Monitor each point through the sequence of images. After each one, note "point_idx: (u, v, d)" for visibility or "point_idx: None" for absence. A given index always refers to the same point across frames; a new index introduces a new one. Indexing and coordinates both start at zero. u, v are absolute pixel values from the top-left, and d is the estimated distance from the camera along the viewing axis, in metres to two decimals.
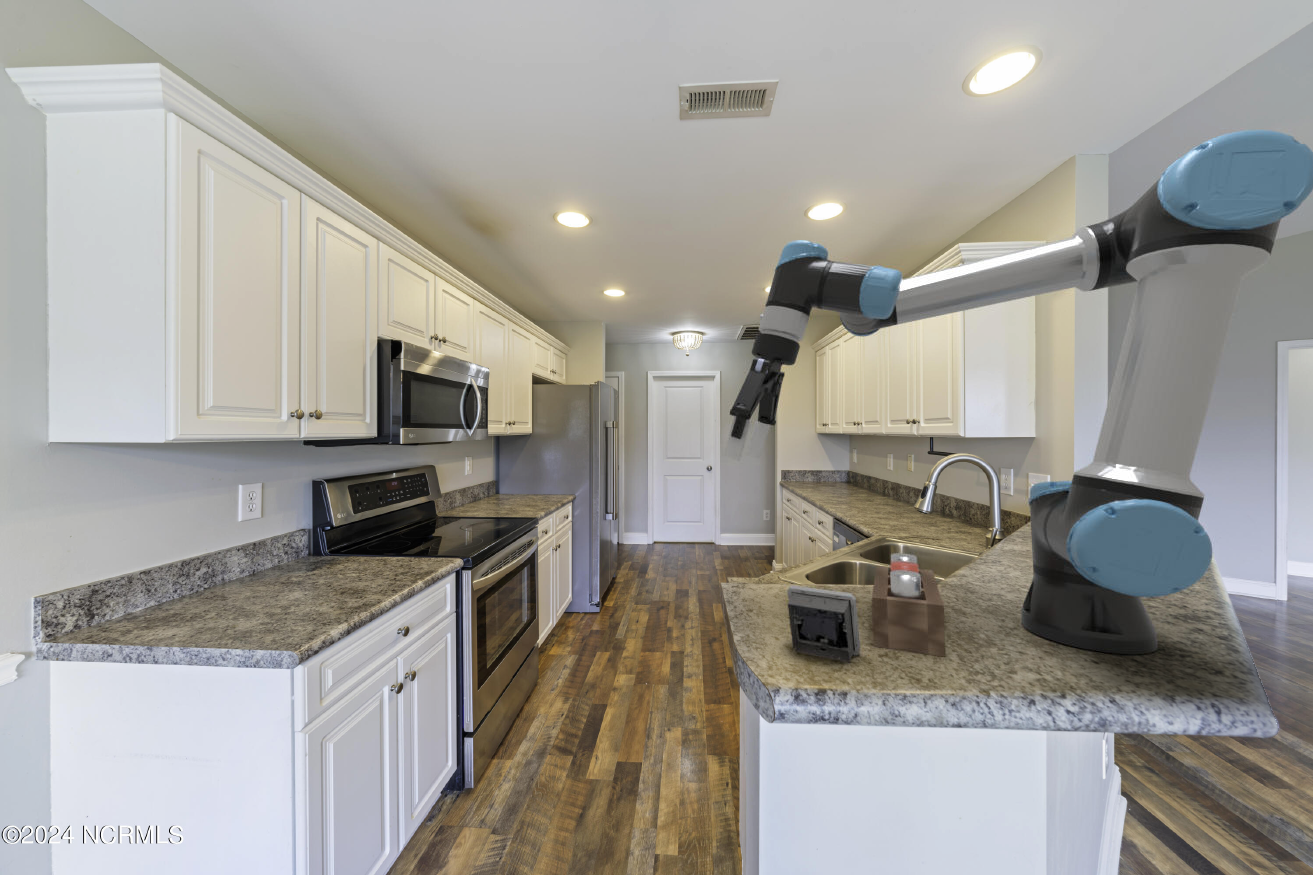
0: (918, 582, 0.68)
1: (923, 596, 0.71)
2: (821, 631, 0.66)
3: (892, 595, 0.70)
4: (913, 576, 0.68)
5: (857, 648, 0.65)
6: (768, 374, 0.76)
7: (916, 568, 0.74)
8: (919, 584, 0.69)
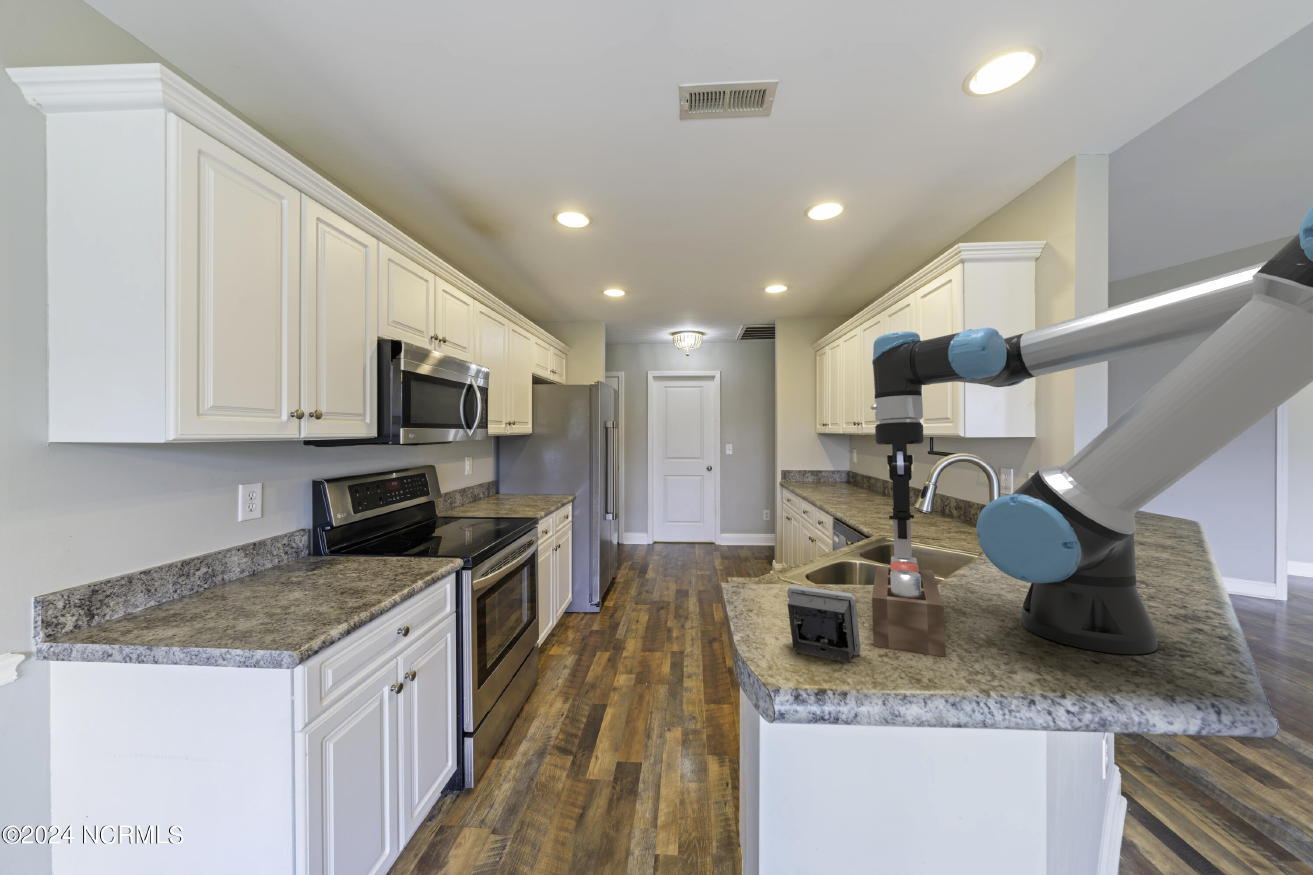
0: (918, 582, 0.68)
1: (923, 596, 0.71)
2: (821, 631, 0.66)
3: (892, 595, 0.70)
4: (913, 576, 0.68)
5: (857, 648, 0.65)
6: (906, 460, 0.79)
7: (916, 568, 0.74)
8: (919, 584, 0.69)
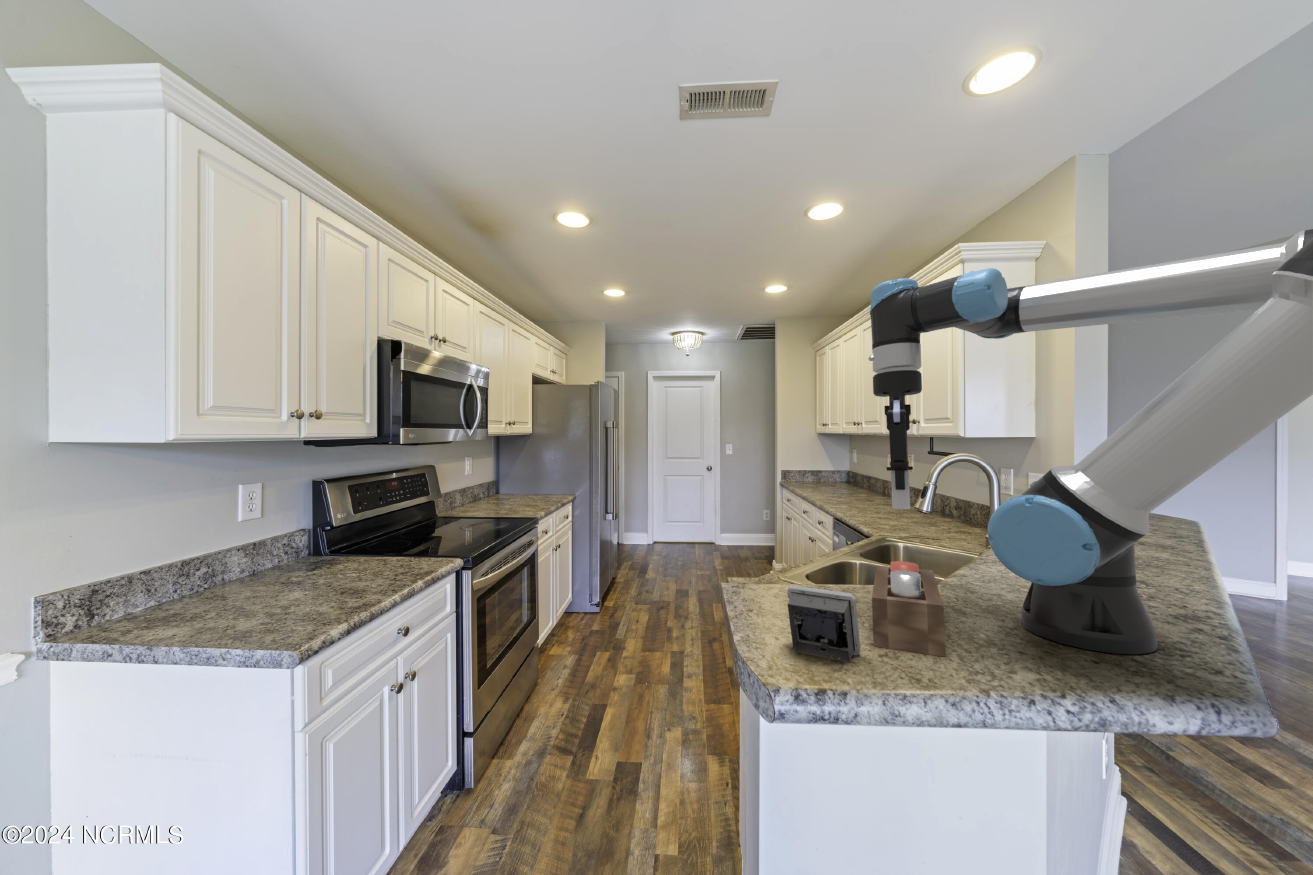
0: (918, 582, 0.68)
1: (923, 596, 0.71)
2: (821, 631, 0.66)
3: (892, 595, 0.70)
4: (913, 576, 0.68)
5: (857, 648, 0.65)
6: (903, 409, 0.78)
7: (916, 568, 0.74)
8: (919, 584, 0.69)
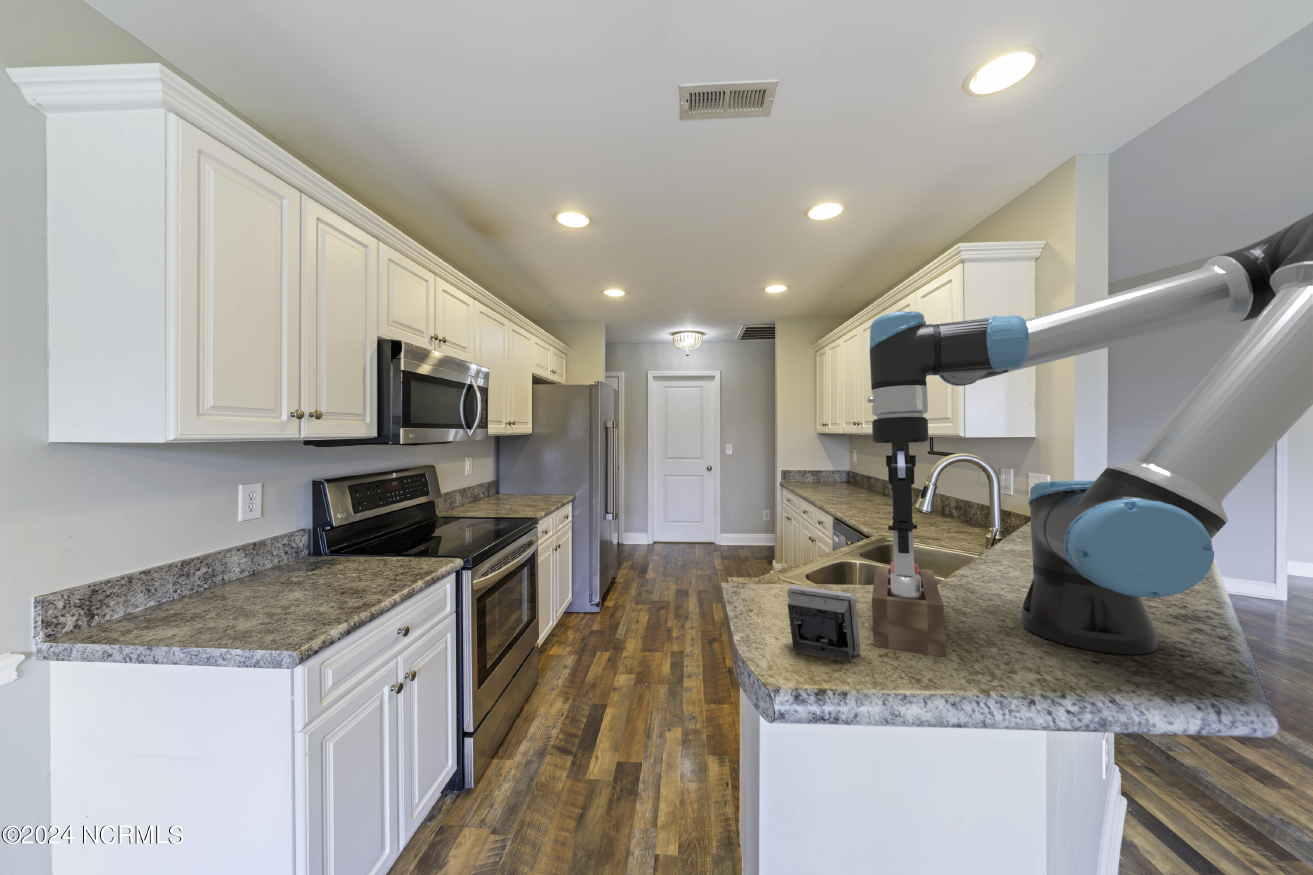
0: (919, 583, 0.68)
1: (923, 596, 0.71)
2: (821, 631, 0.66)
3: None
4: (913, 578, 0.68)
5: (857, 648, 0.65)
6: (908, 461, 0.68)
7: (916, 568, 0.74)
8: (919, 586, 0.69)
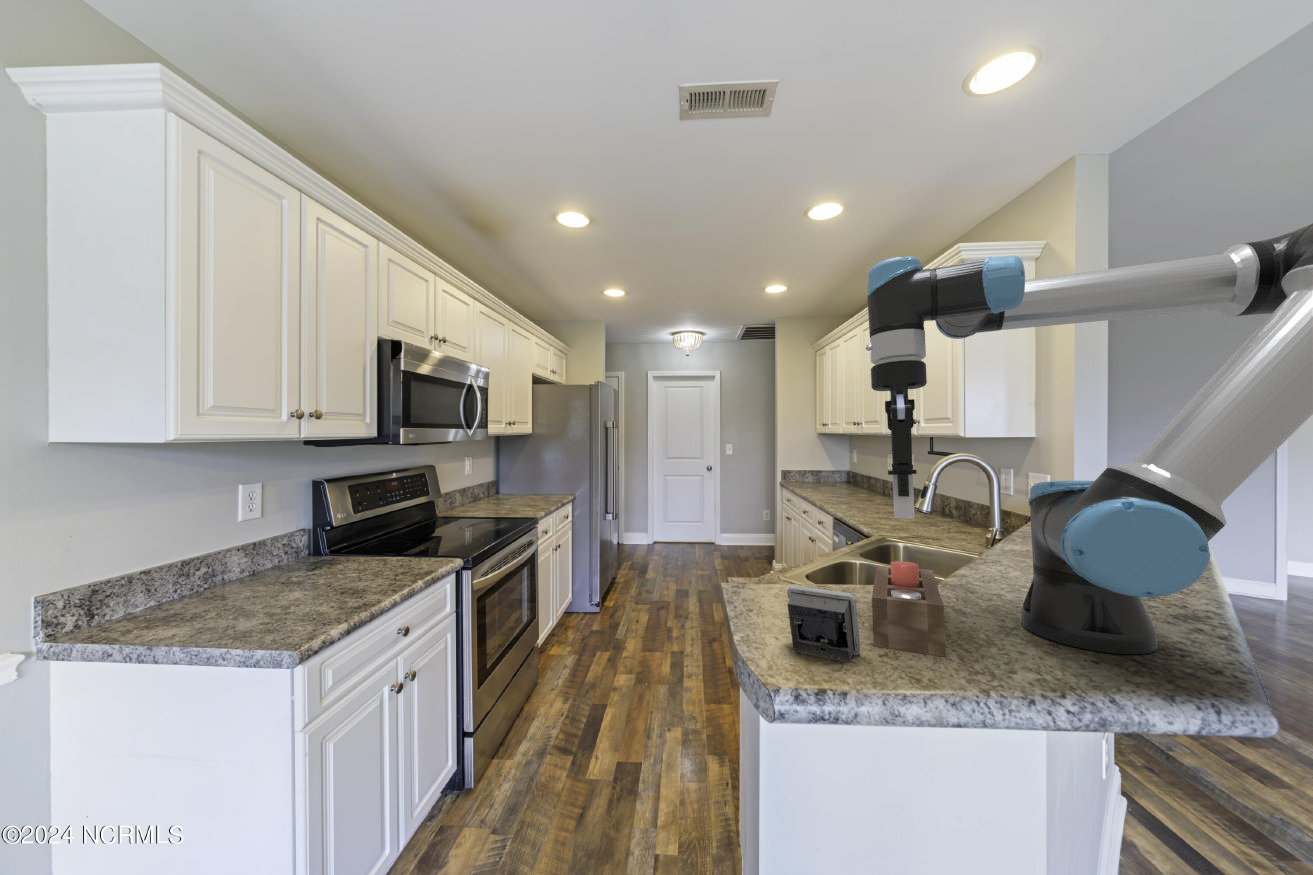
0: None
1: (923, 596, 0.71)
2: (821, 631, 0.66)
3: None
4: (914, 596, 0.68)
5: (857, 648, 0.65)
6: (907, 404, 0.68)
7: (916, 568, 0.74)
8: None
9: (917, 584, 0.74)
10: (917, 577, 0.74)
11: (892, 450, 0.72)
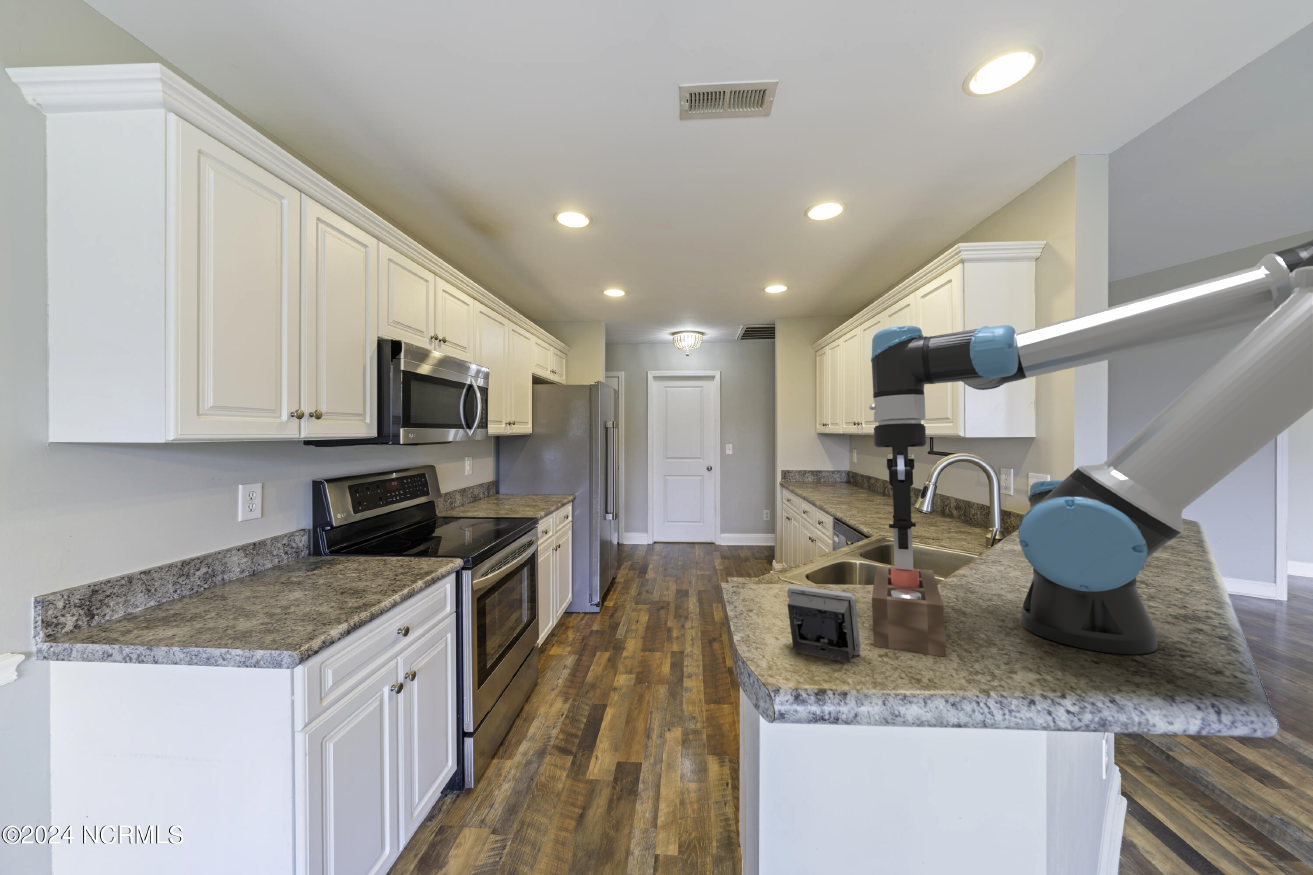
0: None
1: (923, 596, 0.71)
2: (821, 631, 0.66)
3: None
4: (914, 596, 0.68)
5: (857, 648, 0.65)
6: (907, 464, 0.74)
7: (916, 574, 0.74)
8: None
9: None
10: (917, 583, 0.74)
11: None
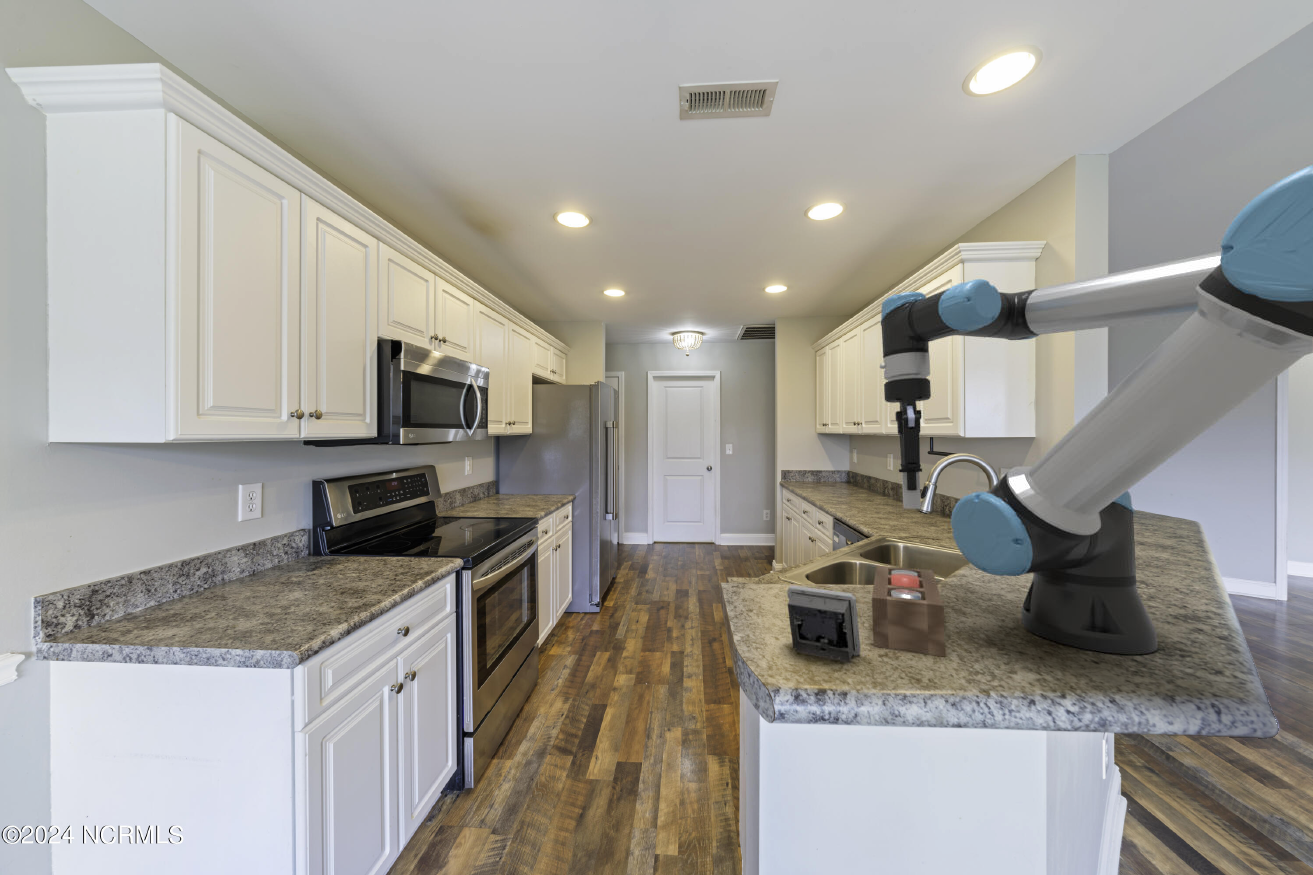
0: None
1: (923, 596, 0.71)
2: (821, 631, 0.66)
3: None
4: (914, 596, 0.68)
5: (857, 648, 0.65)
6: (915, 414, 0.83)
7: (916, 581, 0.74)
8: None
9: None
10: None
11: (902, 452, 0.87)
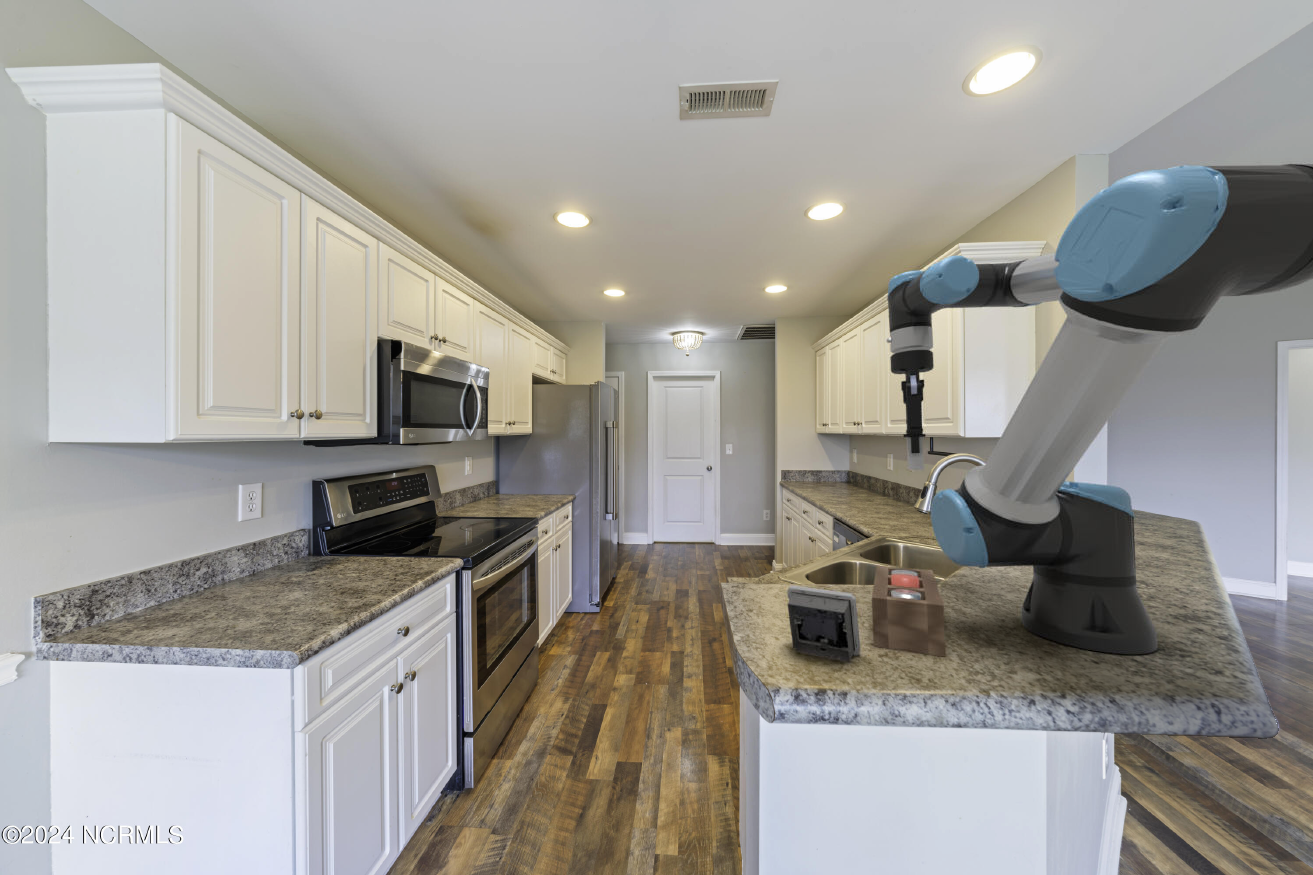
0: None
1: (923, 596, 0.71)
2: (821, 631, 0.66)
3: None
4: (914, 596, 0.68)
5: (857, 648, 0.65)
6: None
7: (916, 581, 0.74)
8: None
9: None
10: None
11: None
